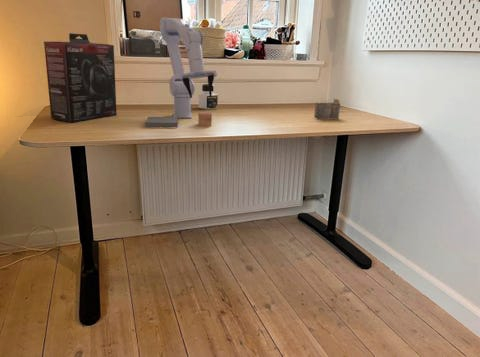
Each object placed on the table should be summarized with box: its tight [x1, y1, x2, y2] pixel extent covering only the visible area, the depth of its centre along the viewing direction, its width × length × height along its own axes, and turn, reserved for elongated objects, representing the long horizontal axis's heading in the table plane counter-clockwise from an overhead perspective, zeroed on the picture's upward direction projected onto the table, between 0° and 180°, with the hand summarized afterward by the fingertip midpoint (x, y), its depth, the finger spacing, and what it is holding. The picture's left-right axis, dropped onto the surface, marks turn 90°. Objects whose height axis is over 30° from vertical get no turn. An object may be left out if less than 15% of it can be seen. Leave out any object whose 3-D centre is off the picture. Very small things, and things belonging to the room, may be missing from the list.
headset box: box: [43, 32, 117, 123], centre depth 156 cm, size 24×13×33 cm, turn 152°
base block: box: [145, 116, 179, 128], centre depth 154 cm, size 12×12×2 cm
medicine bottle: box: [198, 83, 219, 110], centre depth 196 cm, size 7×7×12 cm
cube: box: [197, 111, 213, 127], centre depth 156 cm, size 5×5×5 cm
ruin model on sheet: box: [313, 98, 341, 119], centre depth 183 cm, size 11×3×10 cm, turn 102°
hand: (200, 96), depth 151 cm, fingers open, 7 cm apart
